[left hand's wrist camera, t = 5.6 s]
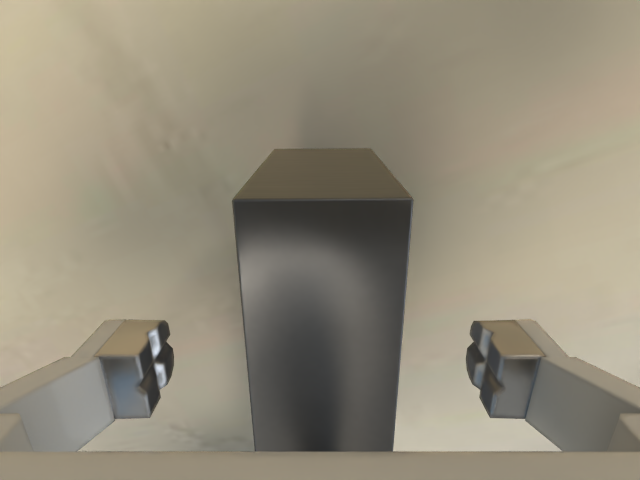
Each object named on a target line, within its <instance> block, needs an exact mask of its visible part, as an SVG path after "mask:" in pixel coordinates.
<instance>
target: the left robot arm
mask: <svg viewBox="0 0 640 480" xmlns="http://www.w3.org/2000/svg"><path fill="white" fill-rule="evenodd" d="M169 336H170V331H169V326H168V323H167V322H166V321H165V320H126V319H120V320H106V321H104V322H103V323H102V324H101V325H100V327H99V328H98V329H97V330H96V331H95V332H94V333H93V334H92V335H91V336H90V337H89V338H88V339H87V340H86V341H85V343H84V344H83V345H82V346H81V347H80V348H79V349H78V350H77V351H76V352H75V353H74V354H73V355H72V356H71V357H64V358H62V359H60V360H58V361H55V362H53V363H51V364H49V365H47V366H45V367H43V368H41V369H39V370H36V371H34V372H32V373H30V374H28V375H26V376H24V377H22V378H20V379H17V380H15V381H13V382H11V383H9V384H7V385H5V386H3V387H1V388H0V480H640V388H639V387H637V386H635V385H633V384H631V383H629V382H627V381H625V380H622V379H620V378H618V377H616V376H614V375H612V374H610V373H608V372H606V371H603V370H601V369H599V368H597V367H595V366H593V365H591V364H589V363H587V362H585V361H582V360H580V359H578V358H576V357H569V356H568V355H567V354H566V353H565V352H564V351H563V350H562V349H561V348H560V347H559V346H558V345H557V344H556V343H555V341H554V340H553V339H552V338H551V337H550V336H549V335H548V334H547V333H546V332H545V331H544V330H543V329H542V328H541V326H540V325H539V324H538V323H537V322H536V321H534V320H531V319H524V320H496V321H474V322H473V324H472V326H471V330H470V336H471V337H472V339H473V341H474V342H473V343H472V344H471V345H470V346H469V347H468V348H467V355H466V365H467V372H468V375H469V378H470V380H471V382H472V384H473V385H474V386H476V387H477V388H479V389H480V390H481V391H480V397H479V398H480V400H481V401H482V403H483V405H484V407H485V409H486V411H487V413H488V415H489V417H490V418H514V419H525V421H526V422H528V423H529V424H530V425H531V426H533V427H534V428H535V429H536V430H538V431H539V432H540V433H541V434H542V435H544V436H545V437H546V438H547V439H549V440H550V441H551V442H552V443H553V444H555V445H556V446H557V447H558V448H560V449H561V450H562V451H563V452H77V451H78V450H79V449H81V448H82V447H83V446H84V445H85V444H87V443H88V442H89V441H90V440H92V439H93V438H94V437H95V436H97V435H98V434H99V433H100V432H101V431H103V430H104V429H105V428H106V427H108V426H109V425H110V424H111V423H112V422H114V421H115V419H125V418H150V417H151V415H152V413H153V411H154V409H155V407H156V405H157V403H158V401H159V399H160V398H161V397H160V391H159V390H160V389H161V388H163V387H164V386H166V385H167V384H168V382H169V380H170V378H171V375H172V371H173V366H174V354H173V348H172V347H171V346H170V345H169V344H168V343H167V342H166V341H167V339H168V337H169Z"/></svg>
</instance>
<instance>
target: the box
mask: <svg viewBox="0 0 640 480" xmlns="http://www.w3.org/2000/svg"><path fill="white" fill-rule="evenodd" d="M232 204H233V215H234V226H235V237H236V248H237V259H238V270H239V281H240V292H241V303H242V314H243V325H244V336H245V347H246V358H247V369H248V380H249V391H250V402H251V413H252V424H253V435H254V446H255V452H393V443H394V431H395V419H396V407H397V395H398V383H399V370H400V358H401V346H402V334H403V322H404V310H405V297H406V285H407V273H408V261H409V249H410V237H411V224H412V212H413V198H412V197H411V195H410V194H409V193H408V192H407V191H406V190H405V188H404V187H403V186H402V185H401V184H400V182H399V181H398V180H397V179H396V178H395V177H394V175H393V174H392V173H391V172H390V171H389V169H388V168H387V167H386V166H385V165H384V164H383V162H382V161H381V160H380V159H379V158H378V156H377V155H376V154H375V153H374V152H373V151H372V149H370V148H358V149H274V150H273V151H272V153H271V154H270V155H269V156H268V157H267V159H266V160H265V161H264V162H263V163H262V165H261V166H260V167H259V168H258V169H257V171H256V172H255V173H254V174H253V175H252V177H251V178H250V179H249V180H248V181H247V183H246V184H245V185H244V186H243V188H242V189H241V190H240V191H239V192H238V194H237V195H236V196H235V197H234V198H233V200H232Z"/></svg>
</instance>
